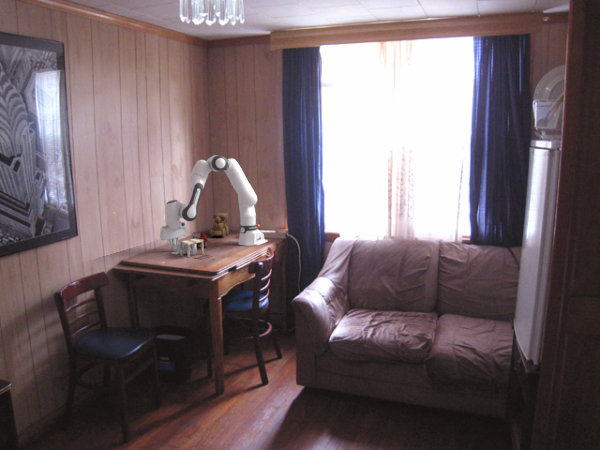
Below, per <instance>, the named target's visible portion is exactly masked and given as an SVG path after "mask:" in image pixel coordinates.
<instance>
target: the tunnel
mask: <svg viewBox="0 0 600 450" xmlns="http://www.w3.org/2000/svg"><path fill="white" fill-rule="evenodd" d="M198 242H201V249H200V254H201V255H205V253H204V252H205V249H204V248H205V247H204V244H203V240H201V239H196V238H195V239H193V238H191V239H186V240H182V241H179V243H180V254H179V256H180V257H183V256H184V254H183V244H187V253H186V254H187V255H186V256H187V259H189V257H190V258H191V253H190V244H191V245H192V244H194V243H198ZM197 249H198V246H197V244H196V254H198V253H197V252H198V250H197Z"/></svg>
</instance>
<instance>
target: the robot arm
mask: <svg viewBox="0 0 600 450" xmlns="http://www.w3.org/2000/svg"><path fill="white" fill-rule="evenodd" d="M222 171H223V172H224V173H225V174H226V176H227V178H228V180H229V182H230V184H231V186H232V187H233V189H234V191H235V192H236V194H237V198H238V199H237V200H238V208H239V217H240V218H239V220H240V221H239V223H240V224H239V230H240V231H239V238H238V241H237V243H238V245H240V246H248V247H249V246H260V245H263V244H265V243H267V242H269V241H268V240H267V239H265V235H264V232H262V231H260V229H258V228H260V224H259V223H258V224H257V220H256V219H257V213H256V207H255V205H256V204H257V202H258V196H257V194H256V192H255V190H254V188H253V187H252V185H251V184H250V182H249V181H248V179H247V176H246V175H245V173H244V171H243V168H242V167H241V166H240V164H239V162H238V161H237V160H236V159H235V158H228V159H227V158H226V157H225V156H223V155H219V154H218V155H217V154H214V155H212V156H210V157H208V158H207V159H200V160H199V159H198V160H197V161H196V163H195V164H194V166H193V169H192V170H191V173H190V176H189V180H188V183H189V186H190V187H191V196H190V198H189V202H188V203H187V204H186V203H183V202H181V201H179V200H177V199H172V200H169V201H167V202H166V203H165V215H166V218H165V221H166V223H165V225H162V226H161V228H160V235H159V239H160V240H161V241H168V242H169V246H172V245H173V242H172V239H176V245H177V244H178V243H179V242H180V241H179V240H180V238H182V237H186V236H187V232H188V230H187V226H186V225H187V223H186V222H193V221H195V220H196V219H197V218H198V216H199V215H198V213H199V211H198V210H199V205H200V201H201V197H202V194H203V192H204V191H203V190H204V188H205V185H206V183H207V179H208V176H209V174H210V173H211V172H217V173H218V172H222ZM180 219H184V220H185V221H186V222H183V221H180Z"/></svg>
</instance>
